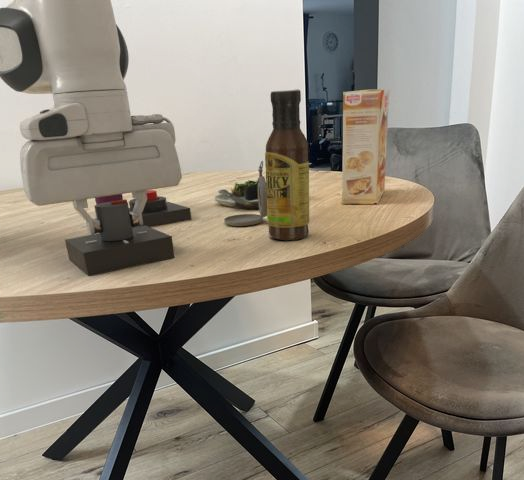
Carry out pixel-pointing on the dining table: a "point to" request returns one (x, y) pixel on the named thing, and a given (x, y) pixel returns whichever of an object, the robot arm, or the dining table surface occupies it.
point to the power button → (151, 195)
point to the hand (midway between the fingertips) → (116, 229)
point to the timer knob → (114, 220)
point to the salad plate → (240, 196)
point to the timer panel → (119, 250)
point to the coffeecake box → (364, 145)
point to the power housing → (162, 212)
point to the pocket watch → (262, 203)
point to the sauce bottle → (287, 170)
